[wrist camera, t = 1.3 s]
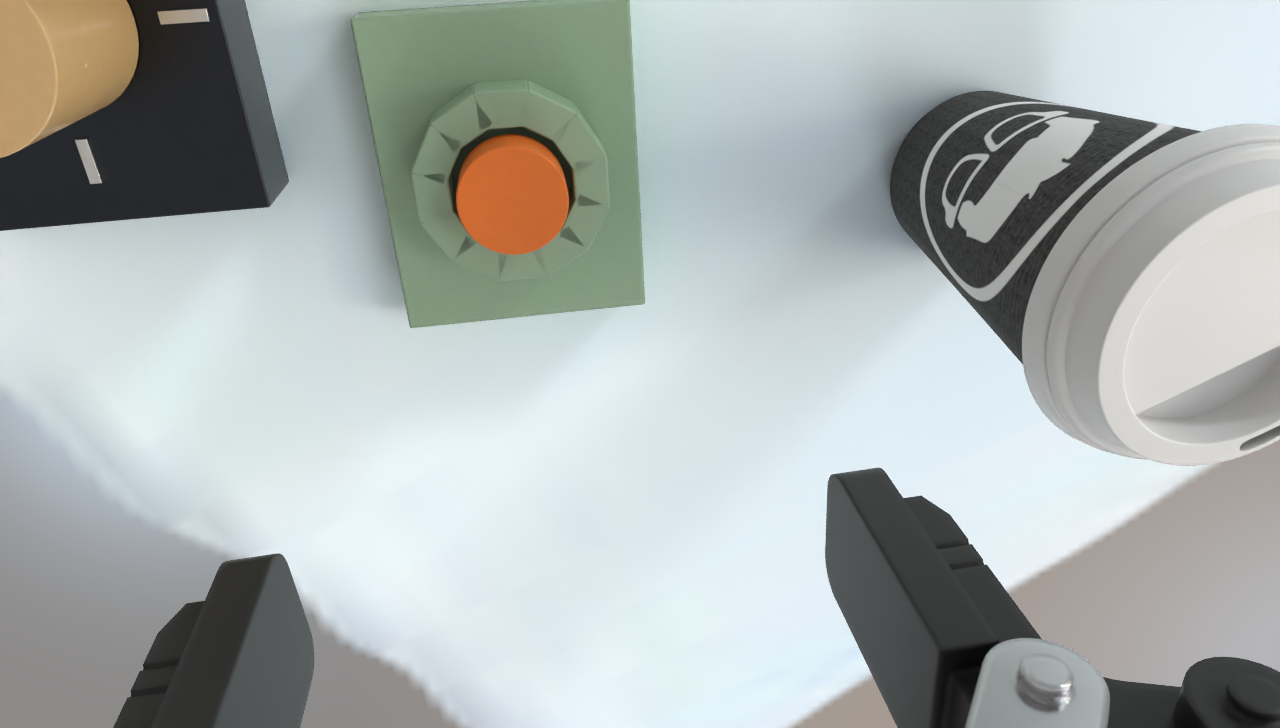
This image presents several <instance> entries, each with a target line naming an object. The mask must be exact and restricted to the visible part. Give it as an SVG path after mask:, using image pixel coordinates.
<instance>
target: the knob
mask: <svg viewBox="0 0 1280 728" xmlns="http://www.w3.org/2000/svg"><path fill="white" fill-rule="evenodd" d="M138 52H139V42H138V32H137V28H136V24H135V19H134V17H133V14H132V11H131V9H130V6H129V4H128V2H127V0H0V158H2V157H6V156H9V155H11V154H13V153H15V152H17V151H20V150H22V149H24V148H26V147H27V146H29V145H31V144H33V143H35V142H37V141H39V140H41V139H43V138H45V137H47V136H49V135H51V134H53V133H55V132H57V131H59V130H61V129H63V128H65V127H67V126H69V125H71V124H73V123H75V122H77V121H79V120H81V119H82V118H84V117H86V116H88V115H90V114H92V113H94V112H96V111H98V110H100V109H102V108H104V107H106V106H107V105H109V104H110V103H112V102H113V101H115V100H116V99H117V98H118V97H119V96H120V95H121V94H122V93H123V92H124V90H125V89H126V88H127V86H128V85H129V83H130V81H131V79H132V77H133V75H134V72H135V69H136V66H137V60H138Z"/></svg>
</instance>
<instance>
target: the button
mask: <svg viewBox="0 0 1280 728" xmlns="http://www.w3.org/2000/svg"><path fill="white" fill-rule="evenodd" d="M456 206H457V211H458V215H459V218H460V220H461V222H462V224H463V226H464V228H465V229H466V231H467V232H468V233H469V234H470V236H471V237H472V238H473V239H474V240H476V241H477V242H478V243H479V244H481V245H482V246H484V247H486V248H488V249H490V250H492V251H495V252H498V253H502V254H510V255H519V254H526V253H529V252H533V251H535V250H538V249H540V248H542V247H543V246H545V245H547V244H548V243H549V242H550V241H552V240H553V239H554V238H555V237H556V235H557V234H558V233H559V232H560V230H561V228H562V227H563V225H564V223H565V220H566V218H567V214H568V208H569V195H568V189H567V185H566V180H565V176H564V173H563V169H562V167H561V165H560V163H559V161H558V160H557V158H556V157H555V155H554V154H553V153H552V152H551V151H550V150H549V149H548V148H547V147H546V146H544V145H543V144H542V143H540V142H538V141H537V140H535V139H532V138H530V137H527V136H523V135H518V134H503V135H498V136H494V137H491V138H489V139H487V140H485V141H483V142H481V143H480V144H479V145H477V146H476V147H475V148H474V149H473V150H472V151H471V152H470V153H469V154H468V156H467V157H466V159H465V161H464V163H463V165H462V167H461V170H460V174H459V179H458V186H457V192H456Z"/></svg>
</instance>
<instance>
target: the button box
mask: <svg viewBox="0 0 1280 728" xmlns="http://www.w3.org/2000/svg"><path fill="white" fill-rule="evenodd" d="M351 25H352V30H353V35H354V41H355V46H356V51H357V56H358V61H359V66H360V72H361V77H362V82H363V87H364V92H365V97H366V103H367V108H368V113H369V118H370V123H371V128H372V134H373V139H374V144H375V149H376V154H377V159H378V165H379V170H380V175H381V180H382V185H383V191H384V196H385V201H386V206H387V211H388V216H389V222H390V227H391V232H392V237H393V242H394V247H395V253H396V258H397V263H398V268H399V273H400V278H401V284H402V289H403V294H404V299H405V304H406V309H407V315H408V320H409V325H410V327H411V328H417V327H427V326H436V325H446V324H456V323H465V322H475V321H485V320H494V319H504V318H514V317H523V316H533V315H543V314H553V313H562V312H572V311H582V310H591V309H601V308H611V307H620V306H630V305H640V304H644V303H645V293H644V274H643V255H642V235H641V216H640V196H639V177H638V158H637V138H636V119H635V99H634V80H633V61H632V41H631V22H630V3H629V0H540V1H525V2H510V3H495V4H481V5H466V6H451V7H436V8H421V9H407V10H392V11H377V12H362V13H358V14H357V15H355V16H354V17H353V18H351ZM503 134H518V135H523V136H527V137H530V138H532V139H535V140H537V141H538V142H540V143H542V144H543V145H544V146H546V147H547V148H548V149H549V150H550V151H551V152H552V153H553V154H554V155H555V157H556V158H557V160H558V161H559V163H560V165H561V167H562V169H563V173H564V176H565V180H566V185H567V189H568V195H569V208H568V214H567V218H566V220H565V223H564V225H563V227H562V228H561V230H560V232H559V233H558V234H557V235H556V237H555V238H554V239H553V240H552V241H550V242H549V243H548V244H547V245H545V246H543V247H542V248H540V249H538V250H535V251H533V252H529V253H526V254H519V255H510V254H502V253H498V252H495V251H492V250H490V249H488V248H486V247H484V246H482V245H481V244H479V243H478V242H477V241H476V240H474V239H473V238H472V237H471V236H470V234H469V233H468V232H467V231H466V229H465V228H464V226H463V224H462V222H461V220H460V218H459V215H458V211H457V206H456V192H457V186H458V179H459V174H460V170H461V167H462V165H463V163H464V161H465V159H466V157H467V156H468V154H469V153H470V152H471V151H472V150H473V149H474V148H475V147H476V146H477V145H479V144H480V143H481V142H483V141H485V140H487V139H489V138H491V137H494V136H498V135H503Z"/></svg>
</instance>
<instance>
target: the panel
mask: <svg viewBox="0 0 1280 728" xmlns="http://www.w3.org/2000/svg"><path fill="white" fill-rule="evenodd" d="M127 2H128V4H129V6H130V9H131V11H132V14H133V17H134V19H135V24H136V28H137V32H138V42H139V52H138V60H137V66H136V69H135V72H134V75H133V77H132V79H131V81H130V83H129V85H128V86H127V88H126V89H125V90H124V92H123V93H122V94H121V95H120V96H119V97H118V98H117V99H116V100H115V101H113V102H112V103H110V104H109V105H107V106H106V107H104V108H102V109H100V110H98V111H96V112H94V113H92V114H90V115H88V116H86V117H84V118H82V119H81V120H79V121H77V122H75V123H73V124H71V125H69V126H67V127H65V128H63V129H61V130H59V131H57V132H55V133H53V134H51V135H49V136H47V137H45V138H43V139H41V140H39V141H37V142H35V143H33V144H31V145H29V146H27V147H26V148H24V149H22V150H20V151H17V152H15V153H13V154H11V155H9V156H6V157H2V158H0V231H3V230H15V229H26V228H37V227H49V226H60V225H71V224H83V223H94V222H105V221H117V220H128V219H139V218H151V217H162V216H173V215H185V214H196V213H207V212H219V211H230V210H241V209H253V208H264V207H270V206H271V204H272V203H273V202H274V200H275V199H276V198H277V197H278V195H279V194H280V193H281V191H282V190H283V189H284V187H285V186H286V185H287V184H288V182H289V180H288V176H287V172H286V168H285V164H284V160H283V156H282V151H281V147H280V143H279V139H278V135H277V131H276V127H275V123H274V119H273V115H272V111H271V107H270V102H269V98H268V94H267V90H266V86H265V82H264V78H263V74H262V70H261V66H260V62H259V58H258V53H257V49H256V45H255V41H254V37H253V33H252V29H251V25H250V21H249V17H248V13H247V8H246V4H245V0H127Z"/></svg>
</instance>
